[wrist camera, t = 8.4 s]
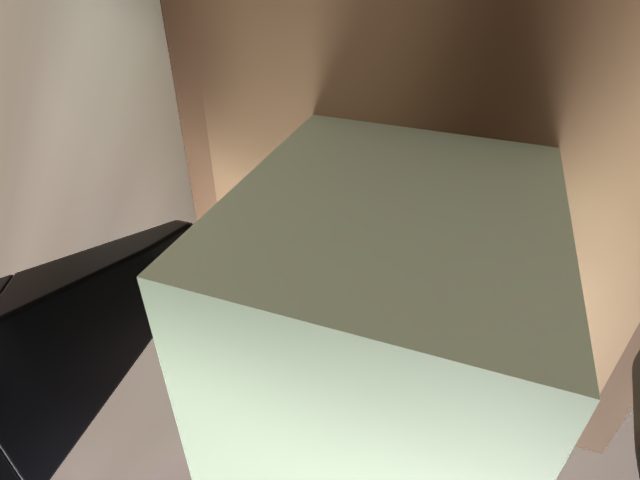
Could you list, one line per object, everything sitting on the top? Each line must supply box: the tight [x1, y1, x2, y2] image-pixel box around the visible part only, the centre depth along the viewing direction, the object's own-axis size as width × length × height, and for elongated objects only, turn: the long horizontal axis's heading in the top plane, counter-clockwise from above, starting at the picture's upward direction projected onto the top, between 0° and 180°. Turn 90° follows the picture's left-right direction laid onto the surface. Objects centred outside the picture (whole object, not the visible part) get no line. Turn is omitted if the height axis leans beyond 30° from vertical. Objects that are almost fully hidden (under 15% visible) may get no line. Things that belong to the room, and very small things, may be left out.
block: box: [137, 115, 600, 480], centre depth 9 cm, size 5×5×6 cm
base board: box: [160, 0, 640, 454], centre depth 12 cm, size 12×12×2 cm
